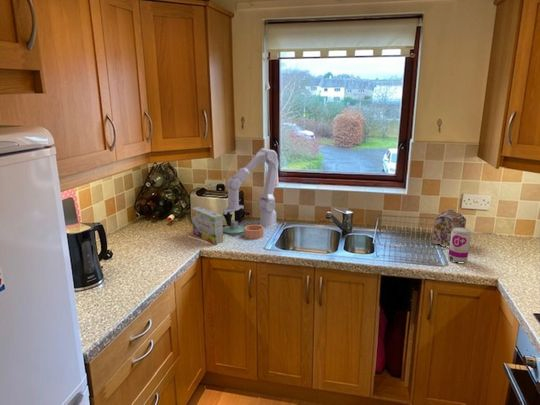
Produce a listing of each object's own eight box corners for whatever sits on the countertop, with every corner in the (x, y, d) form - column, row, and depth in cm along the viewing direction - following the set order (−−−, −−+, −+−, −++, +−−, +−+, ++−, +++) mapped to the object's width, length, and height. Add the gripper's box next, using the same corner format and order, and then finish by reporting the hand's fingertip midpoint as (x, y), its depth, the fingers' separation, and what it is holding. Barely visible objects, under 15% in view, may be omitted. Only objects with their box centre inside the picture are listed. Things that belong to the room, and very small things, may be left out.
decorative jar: (452, 249, 205) (457, 215, 200) (430, 243, 214) (434, 209, 209) (463, 244, 213) (468, 210, 208) (441, 238, 221) (445, 205, 217)
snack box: (191, 234, 222) (190, 207, 218) (200, 232, 226) (200, 206, 222) (214, 245, 207) (214, 216, 203) (223, 243, 210) (223, 214, 207)
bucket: (252, 232, 227) (252, 223, 226) (267, 236, 221) (267, 227, 220) (240, 237, 219) (240, 228, 218) (255, 241, 213) (255, 232, 212)
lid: (233, 224, 237) (233, 216, 236) (250, 229, 230) (250, 221, 229) (217, 230, 228) (216, 222, 226) (234, 235, 220) (234, 227, 219)
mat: (233, 224, 239) (233, 223, 239) (253, 230, 231) (253, 229, 230) (213, 231, 227) (213, 230, 227) (234, 237, 218) (234, 236, 218)
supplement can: (464, 265, 186) (468, 234, 183) (445, 260, 192) (449, 230, 188) (469, 260, 192) (473, 229, 188) (451, 255, 198) (455, 225, 194)
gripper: (236, 196, 232) (237, 219, 236) (218, 201, 221) (219, 225, 225) (246, 198, 228) (246, 222, 231) (228, 203, 217) (228, 228, 220)
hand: (233, 224), depth 228 cm, fingers open, 7 cm apart
